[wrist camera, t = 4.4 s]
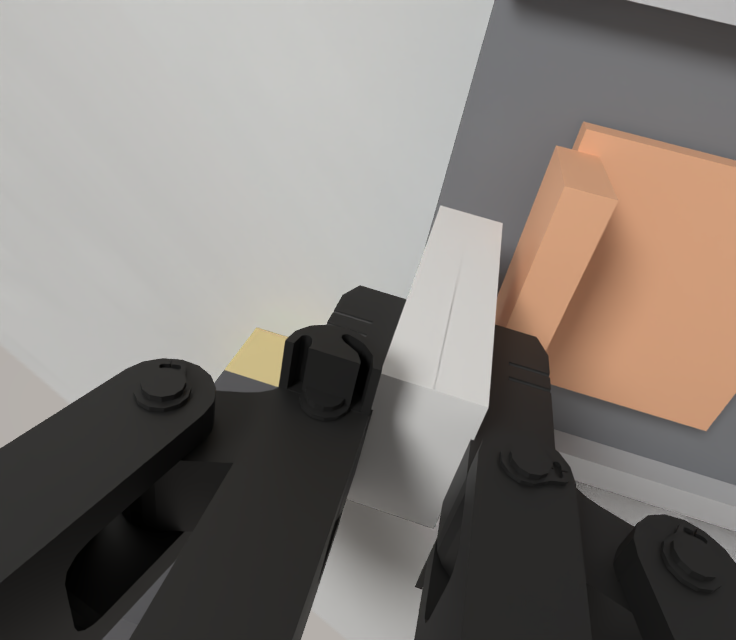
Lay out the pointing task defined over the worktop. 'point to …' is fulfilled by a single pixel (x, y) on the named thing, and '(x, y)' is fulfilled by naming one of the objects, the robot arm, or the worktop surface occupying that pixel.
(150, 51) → the worktop surface
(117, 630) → the plug
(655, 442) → the grey slab
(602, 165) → the shutter
